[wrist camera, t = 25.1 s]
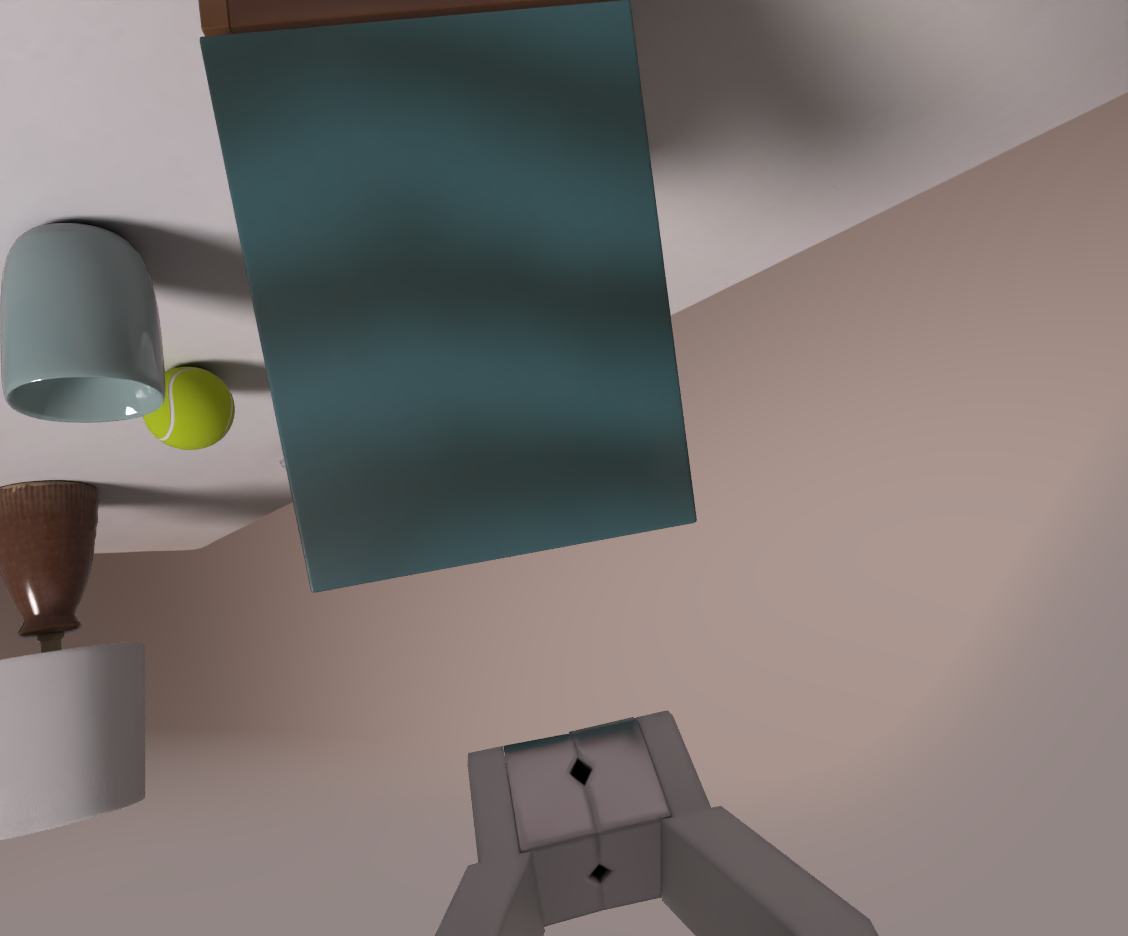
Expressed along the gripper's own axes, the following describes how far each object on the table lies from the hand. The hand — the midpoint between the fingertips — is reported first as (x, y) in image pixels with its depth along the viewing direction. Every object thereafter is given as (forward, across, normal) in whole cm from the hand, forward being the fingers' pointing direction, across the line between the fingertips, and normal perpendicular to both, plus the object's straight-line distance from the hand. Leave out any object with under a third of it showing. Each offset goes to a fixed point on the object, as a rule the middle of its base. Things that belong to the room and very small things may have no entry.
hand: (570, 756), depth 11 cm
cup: (+43, +21, 0) cm, 47 cm away
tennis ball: (+57, +23, +15) cm, 63 cm away
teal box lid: (+16, 0, -1) cm, 16 cm away
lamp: (+79, +50, +36) cm, 100 cm away
